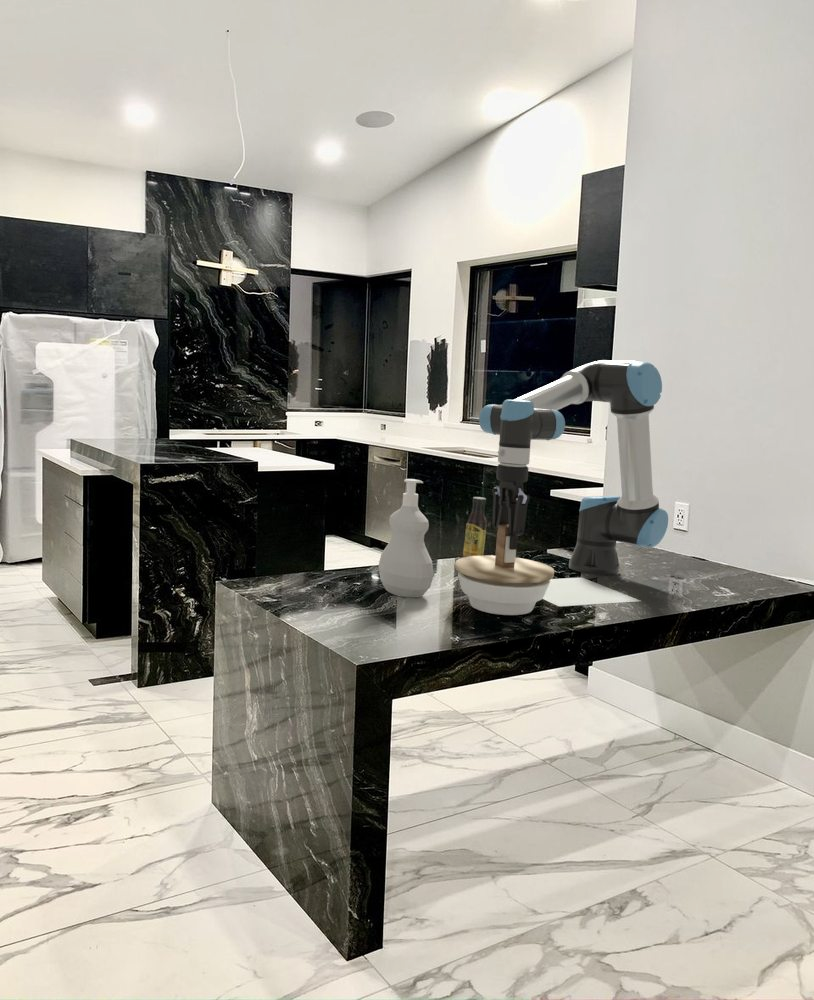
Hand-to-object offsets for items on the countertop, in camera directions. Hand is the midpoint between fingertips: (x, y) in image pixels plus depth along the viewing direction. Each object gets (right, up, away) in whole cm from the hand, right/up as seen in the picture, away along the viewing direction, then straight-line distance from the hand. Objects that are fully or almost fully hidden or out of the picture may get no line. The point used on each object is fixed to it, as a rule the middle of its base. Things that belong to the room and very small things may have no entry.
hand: (505, 560), depth 210 cm
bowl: (-1, -12, +2) cm, 13 cm away
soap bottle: (-25, -10, +10) cm, 28 cm away
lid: (0, -3, 0) cm, 3 cm away
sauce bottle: (-4, -4, +55) cm, 55 cm away
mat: (+20, -10, +23) cm, 32 cm away
